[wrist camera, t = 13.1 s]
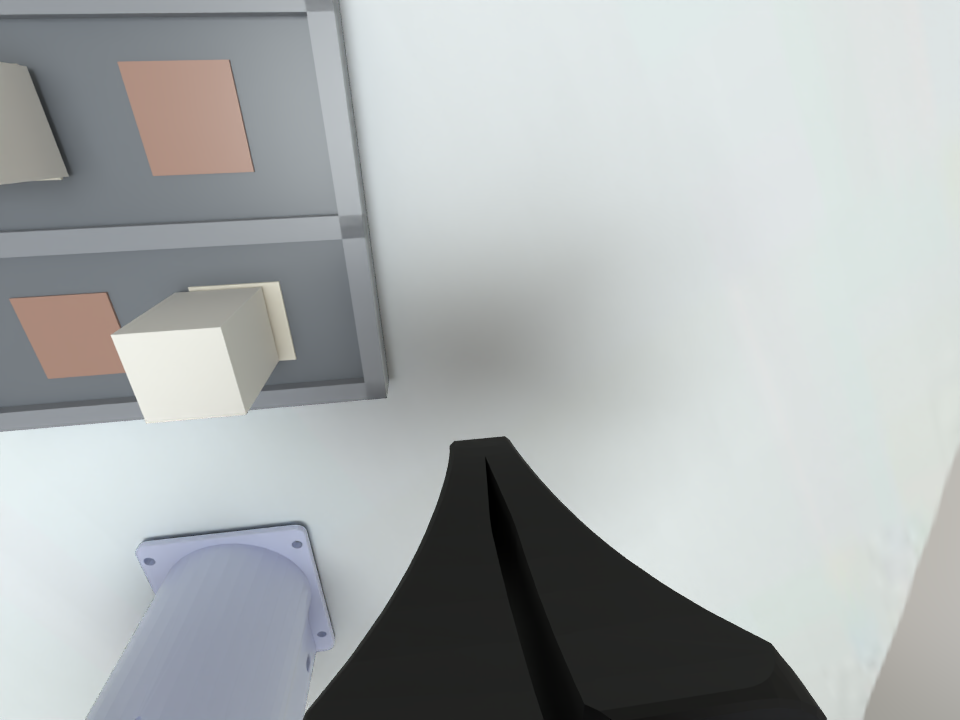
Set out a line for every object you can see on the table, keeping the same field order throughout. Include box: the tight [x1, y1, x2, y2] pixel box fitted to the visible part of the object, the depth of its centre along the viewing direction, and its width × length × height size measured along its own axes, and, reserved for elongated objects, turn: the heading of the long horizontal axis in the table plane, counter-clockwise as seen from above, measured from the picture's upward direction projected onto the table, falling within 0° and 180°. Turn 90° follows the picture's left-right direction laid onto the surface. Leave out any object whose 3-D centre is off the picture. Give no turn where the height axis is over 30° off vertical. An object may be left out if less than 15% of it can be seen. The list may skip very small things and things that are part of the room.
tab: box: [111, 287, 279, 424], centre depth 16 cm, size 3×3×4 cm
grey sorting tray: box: [0, 0, 389, 432], centre depth 16 cm, size 14×16×2 cm
